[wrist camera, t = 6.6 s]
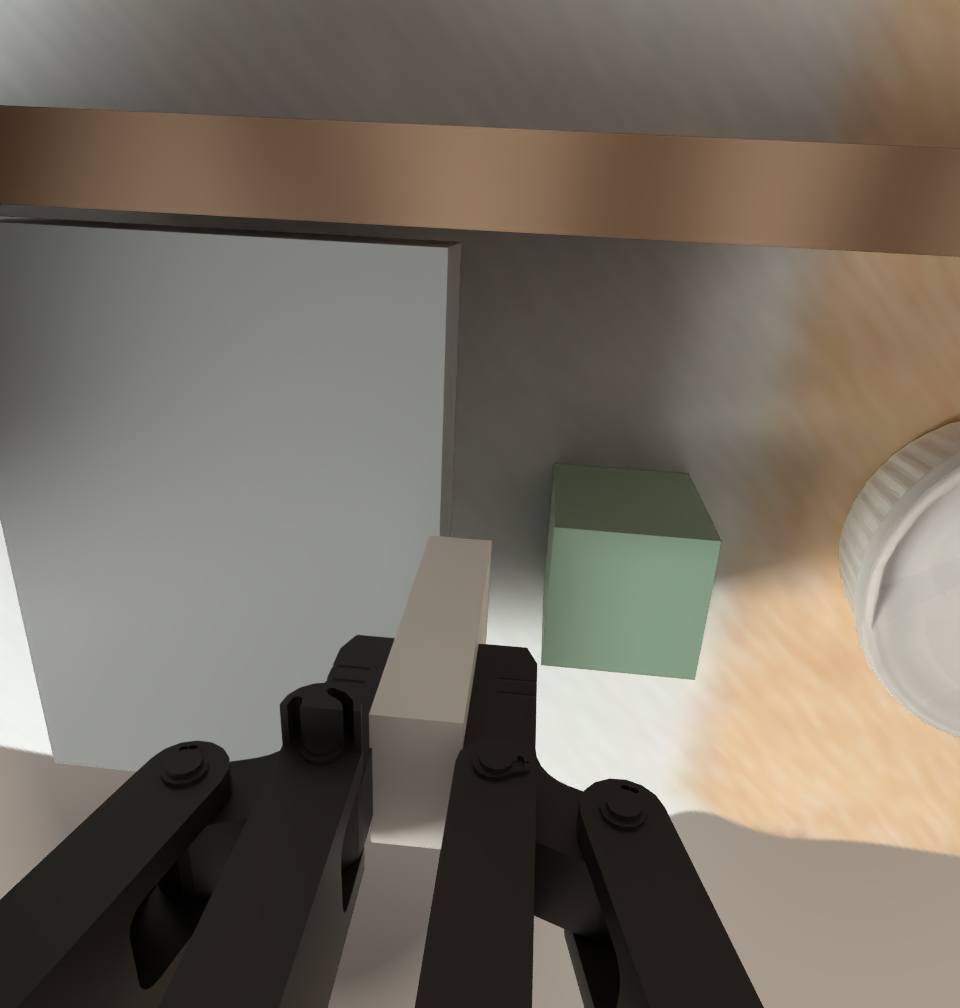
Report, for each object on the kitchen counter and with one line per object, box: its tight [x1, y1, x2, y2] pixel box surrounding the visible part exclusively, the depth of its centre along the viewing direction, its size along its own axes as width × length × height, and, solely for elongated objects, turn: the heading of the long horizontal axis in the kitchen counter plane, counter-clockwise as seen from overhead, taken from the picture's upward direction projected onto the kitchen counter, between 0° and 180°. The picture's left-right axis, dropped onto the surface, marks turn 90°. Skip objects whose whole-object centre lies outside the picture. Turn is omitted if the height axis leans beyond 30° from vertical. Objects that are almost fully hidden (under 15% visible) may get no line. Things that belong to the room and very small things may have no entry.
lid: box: [0, 217, 462, 772], centre depth 21 cm, size 12×16×2 cm
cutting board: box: [0, 105, 960, 257], centre depth 20 cm, size 28×2×10 cm, turn 87°
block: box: [541, 463, 722, 680], centre depth 26 cm, size 5×5×6 cm
